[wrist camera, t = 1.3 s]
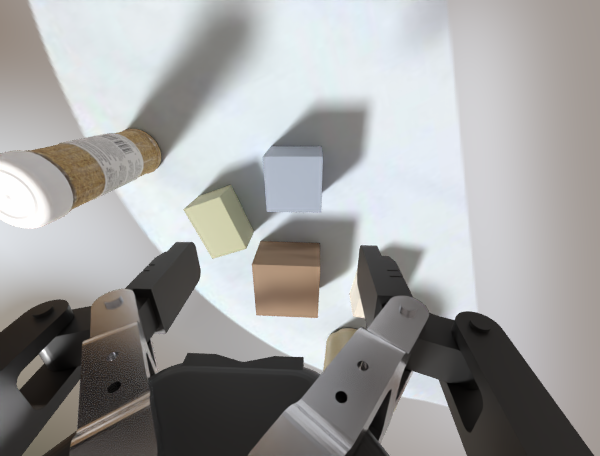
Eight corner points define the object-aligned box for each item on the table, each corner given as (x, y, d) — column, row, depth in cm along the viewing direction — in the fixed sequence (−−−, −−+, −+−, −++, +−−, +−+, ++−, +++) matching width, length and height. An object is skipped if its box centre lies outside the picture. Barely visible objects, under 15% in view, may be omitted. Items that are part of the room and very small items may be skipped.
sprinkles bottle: (110, 145, 27) (-50, 186, 15) (137, 118, 26) (-14, 139, 14) (144, 181, 29) (24, 243, 17) (172, 156, 28) (63, 205, 16)
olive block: (199, 195, 30) (183, 209, 26) (231, 184, 29) (219, 197, 25) (223, 240, 32) (212, 258, 28) (254, 231, 31) (246, 248, 28)
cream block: (359, 262, 32) (364, 282, 29) (391, 267, 32) (400, 288, 29) (349, 293, 35) (353, 316, 31) (379, 298, 35) (386, 321, 31)
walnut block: (260, 240, 32) (251, 264, 27) (319, 242, 31) (320, 266, 27) (263, 286, 35) (256, 315, 30) (317, 288, 35) (317, 317, 30)
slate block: (271, 146, 27) (262, 156, 22) (321, 146, 26) (322, 156, 22) (274, 193, 29) (266, 211, 24) (320, 193, 29) (321, 212, 24)
